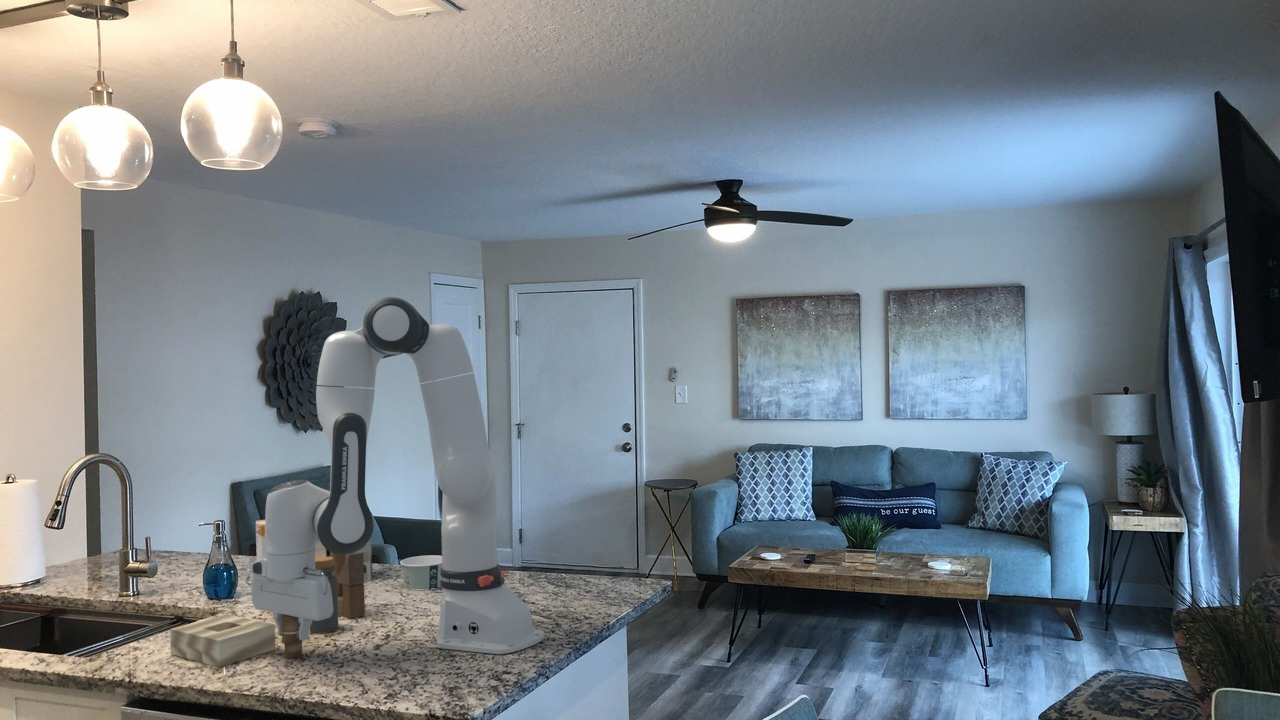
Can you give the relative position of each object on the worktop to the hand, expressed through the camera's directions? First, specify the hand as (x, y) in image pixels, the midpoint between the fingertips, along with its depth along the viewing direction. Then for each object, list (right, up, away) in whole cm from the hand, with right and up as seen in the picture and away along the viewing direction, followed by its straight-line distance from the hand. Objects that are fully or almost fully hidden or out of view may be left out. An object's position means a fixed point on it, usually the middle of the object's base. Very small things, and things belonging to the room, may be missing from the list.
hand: (293, 637), depth 180 cm
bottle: (0, -4, +18) cm, 18 cm away
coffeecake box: (-17, -4, +46) cm, 49 cm away
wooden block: (+1, -4, +31) cm, 31 cm away
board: (-15, -4, +4) cm, 16 cm away
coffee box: (-7, -4, +65) cm, 66 cm away
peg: (0, -4, 0) cm, 4 cm away
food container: (+13, -4, +55) cm, 56 cm away
